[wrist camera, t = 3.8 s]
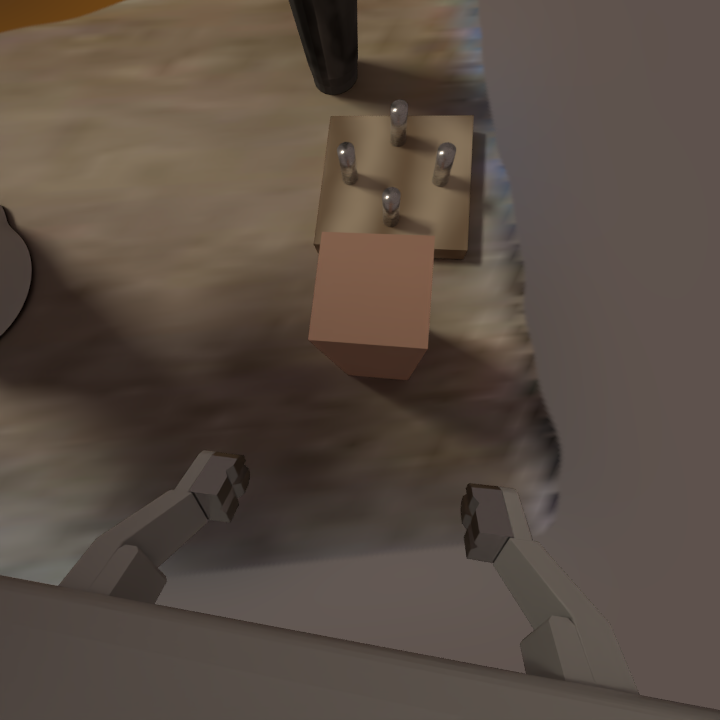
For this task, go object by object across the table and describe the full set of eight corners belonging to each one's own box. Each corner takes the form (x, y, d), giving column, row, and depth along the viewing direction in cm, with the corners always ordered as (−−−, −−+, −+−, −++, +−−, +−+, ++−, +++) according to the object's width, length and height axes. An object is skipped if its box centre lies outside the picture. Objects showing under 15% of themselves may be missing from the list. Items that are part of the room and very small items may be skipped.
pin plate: (317, 252, 28) (304, 222, 23) (333, 130, 30) (323, 81, 25) (463, 259, 26) (478, 228, 22) (469, 130, 28) (484, 78, 24)
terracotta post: (348, 375, 25) (308, 339, 13) (354, 318, 26) (321, 231, 14) (407, 380, 25) (427, 348, 12) (412, 322, 26) (435, 235, 13)
